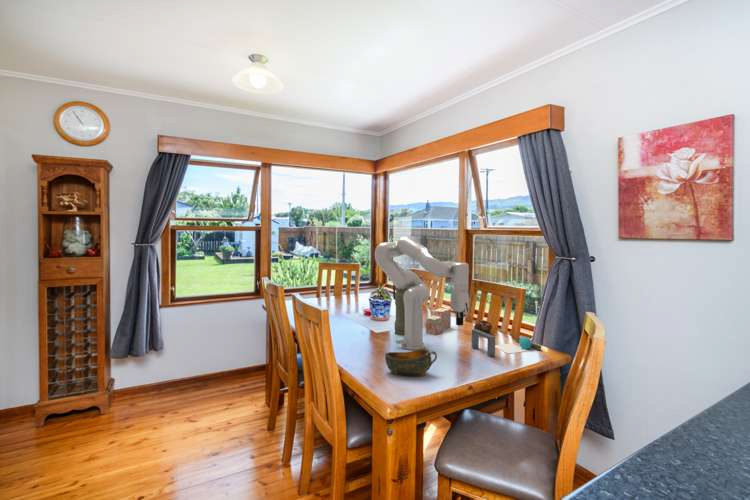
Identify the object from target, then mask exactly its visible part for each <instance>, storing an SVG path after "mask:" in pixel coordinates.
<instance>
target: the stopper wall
mask: <svg viewBox="0 0 750 500" xmlns="http://www.w3.org/2000/svg"><path fill="white" fill-rule="evenodd" d="M521 338H522V337H519V336H518V337H517V336H516V338H515V343H517V344H519V341H520V339H521ZM531 343H532V344H531V347H530V348H529V349H532V350H534V351H537V352H541V351H542V345H540V344H538V343H536V342H532V341H531Z"/></svg>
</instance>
